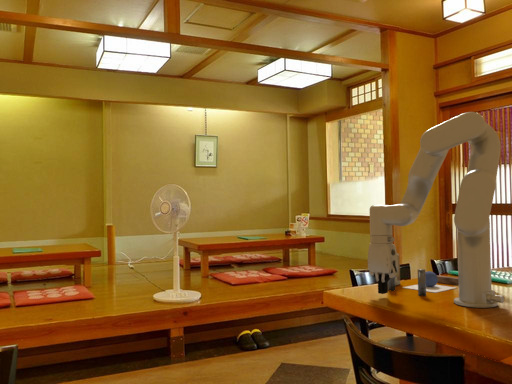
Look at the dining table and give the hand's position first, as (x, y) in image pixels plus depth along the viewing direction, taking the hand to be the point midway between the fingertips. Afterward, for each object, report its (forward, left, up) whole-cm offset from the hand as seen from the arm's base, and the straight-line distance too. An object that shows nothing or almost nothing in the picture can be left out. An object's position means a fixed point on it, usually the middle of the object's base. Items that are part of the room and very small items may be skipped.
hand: (382, 293), depth 163 cm
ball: (+1, -29, +2) cm, 29 cm away
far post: (+6, -13, -2) cm, 15 cm away
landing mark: (0, -27, -2) cm, 27 cm away
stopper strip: (0, -41, -2) cm, 41 cm away
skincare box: (+14, -23, -2) cm, 27 cm away
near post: (-7, -13, -2) cm, 15 cm away
